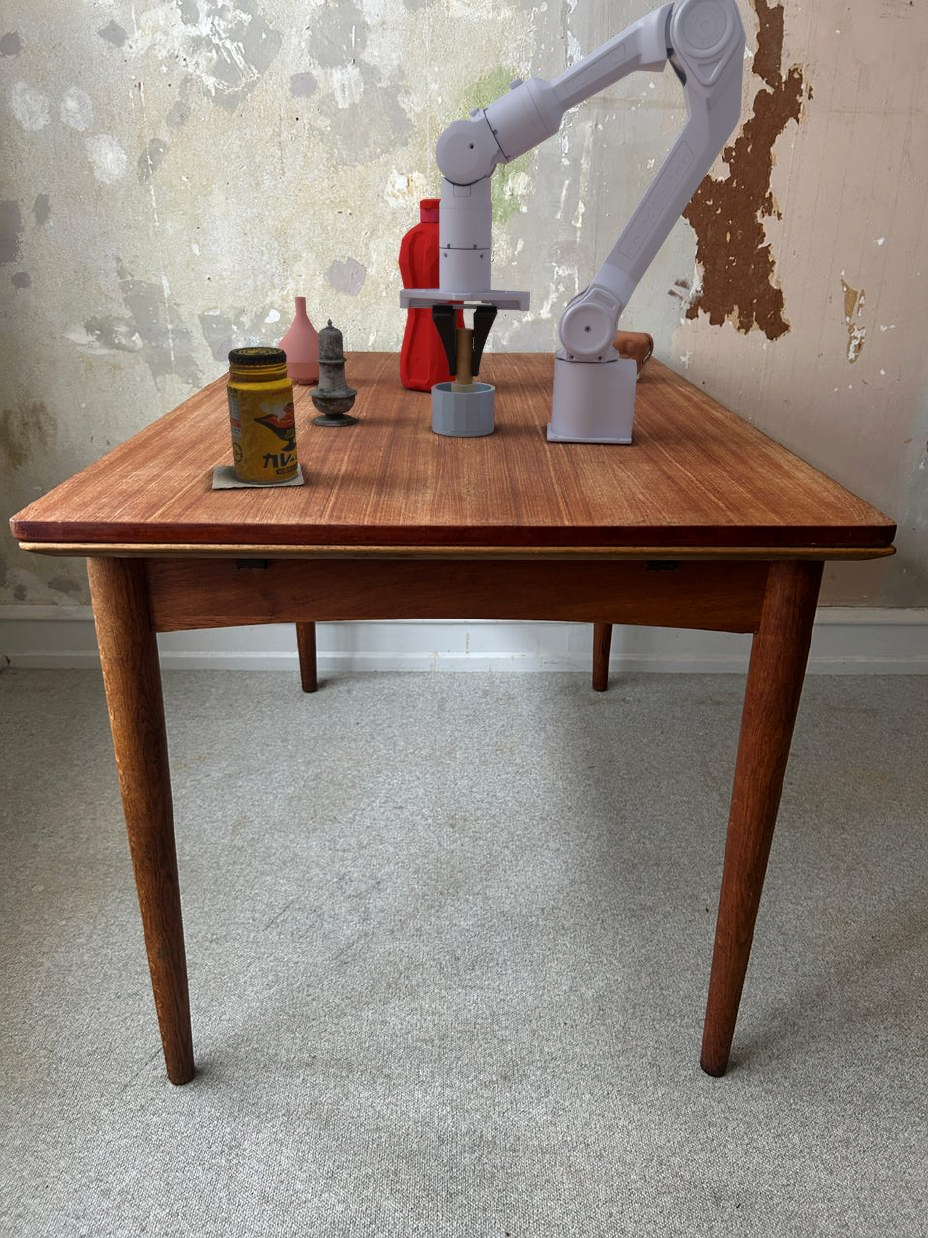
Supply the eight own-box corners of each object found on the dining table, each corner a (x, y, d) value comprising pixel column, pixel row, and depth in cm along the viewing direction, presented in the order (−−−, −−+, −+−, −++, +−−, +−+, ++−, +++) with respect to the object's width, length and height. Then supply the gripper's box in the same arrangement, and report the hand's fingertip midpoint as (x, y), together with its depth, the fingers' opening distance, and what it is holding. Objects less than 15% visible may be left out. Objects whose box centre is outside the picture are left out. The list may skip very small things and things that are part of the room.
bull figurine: (588, 369, 146) (592, 317, 143) (655, 381, 137) (661, 325, 134) (571, 372, 143) (574, 319, 140) (638, 384, 135) (643, 328, 131)
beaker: (495, 423, 109) (496, 382, 107) (492, 438, 102) (493, 394, 100) (435, 421, 110) (435, 380, 107) (428, 435, 103) (428, 392, 101)
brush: (477, 402, 106) (478, 327, 102) (475, 407, 103) (477, 330, 100) (452, 401, 106) (453, 327, 103) (450, 406, 103) (450, 330, 100)
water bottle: (484, 384, 133) (489, 199, 122) (444, 395, 124) (445, 198, 114) (433, 377, 137) (433, 198, 127) (391, 388, 129) (387, 197, 118)
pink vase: (305, 375, 137) (300, 293, 132) (342, 381, 133) (338, 296, 128) (268, 382, 131) (261, 297, 126) (305, 389, 127) (299, 300, 122)
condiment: (304, 485, 84) (296, 354, 79) (212, 490, 82) (197, 356, 77) (299, 465, 91) (291, 343, 86) (214, 469, 89) (200, 344, 84)
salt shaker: (350, 428, 106) (345, 322, 101) (303, 425, 107) (296, 320, 102) (364, 417, 111) (361, 316, 106) (320, 415, 112) (314, 315, 107)
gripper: (394, 248, 94) (396, 379, 100) (531, 250, 93) (525, 382, 99) (404, 245, 101) (406, 368, 107) (532, 248, 100) (527, 371, 105)
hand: (464, 374), depth 103 cm, fingers closed on brush, 2 cm apart
